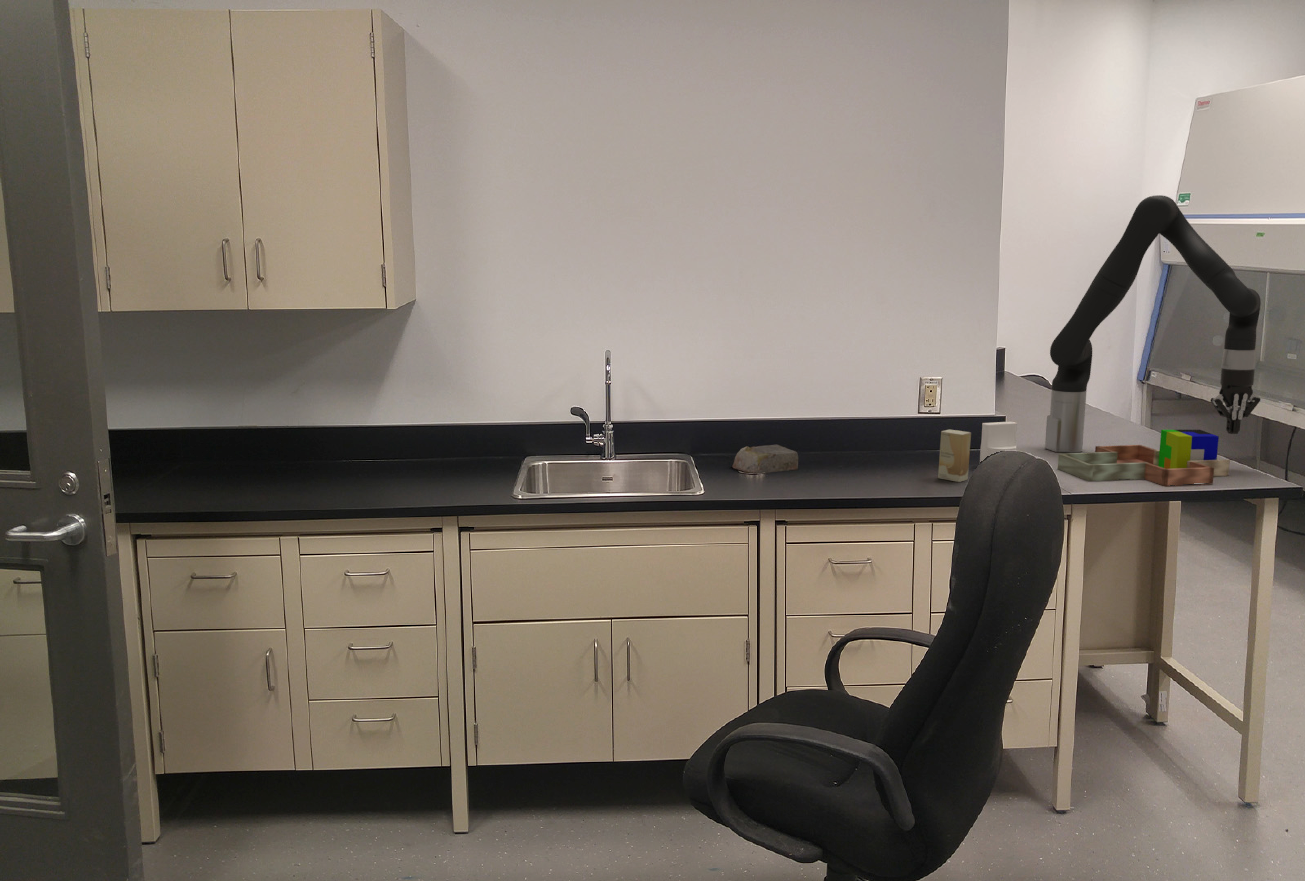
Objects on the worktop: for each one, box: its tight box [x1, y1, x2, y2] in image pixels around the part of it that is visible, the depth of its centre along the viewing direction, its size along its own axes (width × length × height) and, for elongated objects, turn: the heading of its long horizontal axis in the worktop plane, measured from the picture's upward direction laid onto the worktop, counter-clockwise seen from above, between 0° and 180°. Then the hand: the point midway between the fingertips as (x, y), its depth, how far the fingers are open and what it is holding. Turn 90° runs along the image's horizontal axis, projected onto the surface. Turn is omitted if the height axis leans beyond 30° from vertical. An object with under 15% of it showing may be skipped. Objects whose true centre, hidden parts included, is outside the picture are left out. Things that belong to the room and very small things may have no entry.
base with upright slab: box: [979, 421, 1018, 463], centre depth 281 cm, size 9×9×12 cm
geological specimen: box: [731, 444, 799, 475], centre depth 283 cm, size 11×6×15 cm
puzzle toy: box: [1158, 429, 1220, 469], centre depth 277 cm, size 10×10×10 cm
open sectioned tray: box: [1057, 444, 1231, 487], centre depth 276 cm, size 38×31×4 cm
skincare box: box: [937, 429, 972, 483], centre depth 268 cm, size 6×4×12 cm
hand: (1232, 433), depth 278 cm, fingers closed
